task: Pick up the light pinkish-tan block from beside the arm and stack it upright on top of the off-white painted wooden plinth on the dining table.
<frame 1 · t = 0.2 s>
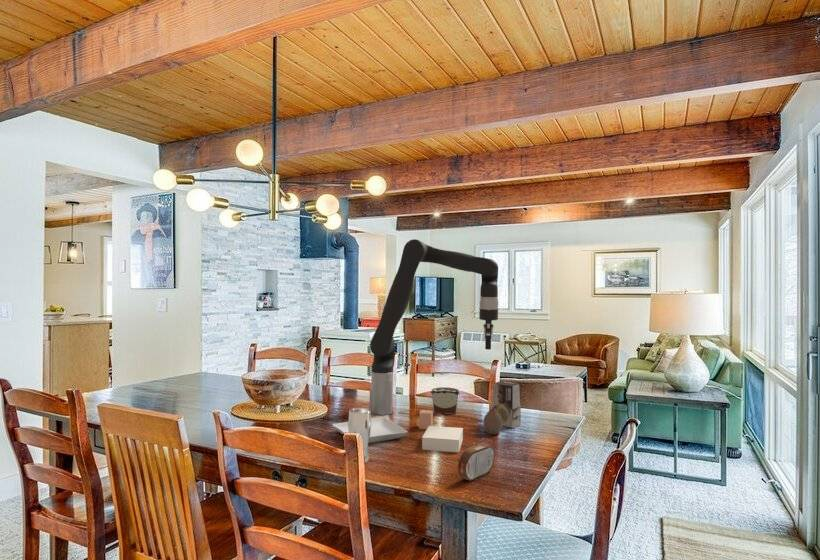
hand: (488, 348, 200), 29 cm above the table, fingers open, 8 cm apart
vase: (492, 433, 180), on the table
beer glass: (359, 460, 150), on the table
coffee box: (506, 425, 192), on the table
tin: (477, 477, 138), on the table
food container: (445, 412, 211), on the table
light pinkish-tan block: (425, 427, 186), on the table
plinth: (443, 444, 166), on the table
salad plate: (369, 437, 175), on the table
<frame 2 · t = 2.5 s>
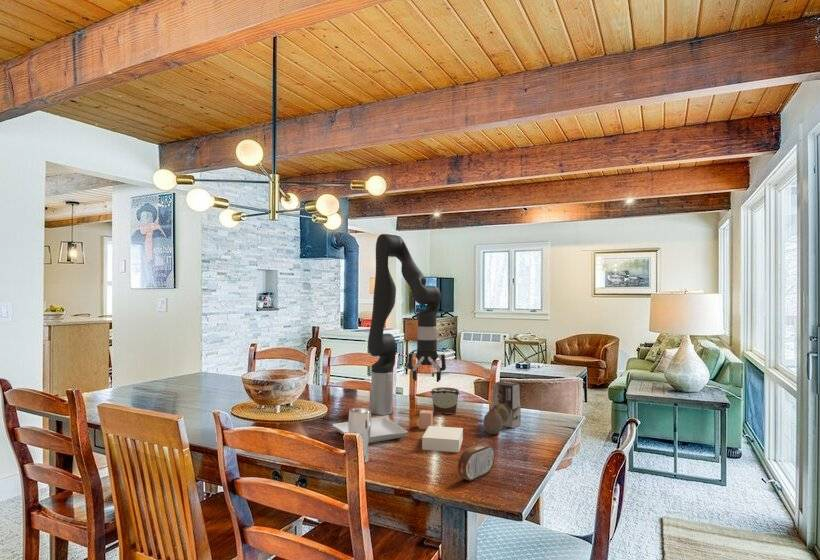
hand: (426, 381, 187), 17 cm above the table, fingers open, 8 cm apart
nothing on the table moved.
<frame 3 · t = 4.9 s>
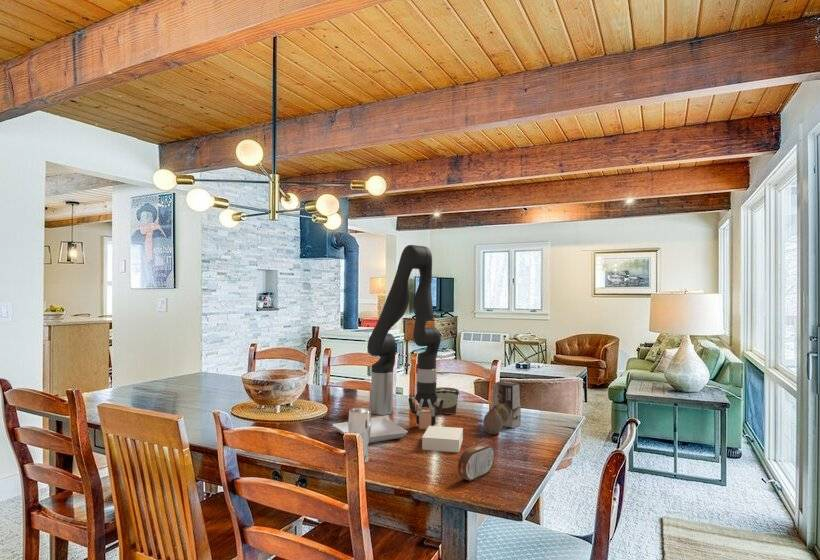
hand: (425, 425, 186), 1 cm above the table, fingers closed on light pinkish-tan block, 4 cm apart
light pinkish-tan block: (425, 427, 186), on the table, touching gripper
everything else where it was.
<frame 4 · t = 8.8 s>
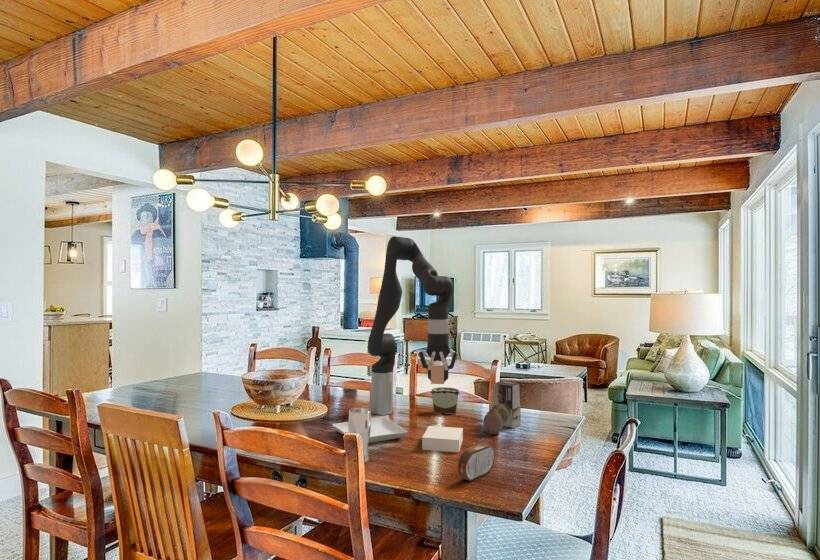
hand: (438, 380, 174), 20 cm above the table, fingers closed on light pinkish-tan block, 4 cm apart
light pinkish-tan block: (438, 382, 174), point 19 cm above the table, touching gripper
everything else where it was.
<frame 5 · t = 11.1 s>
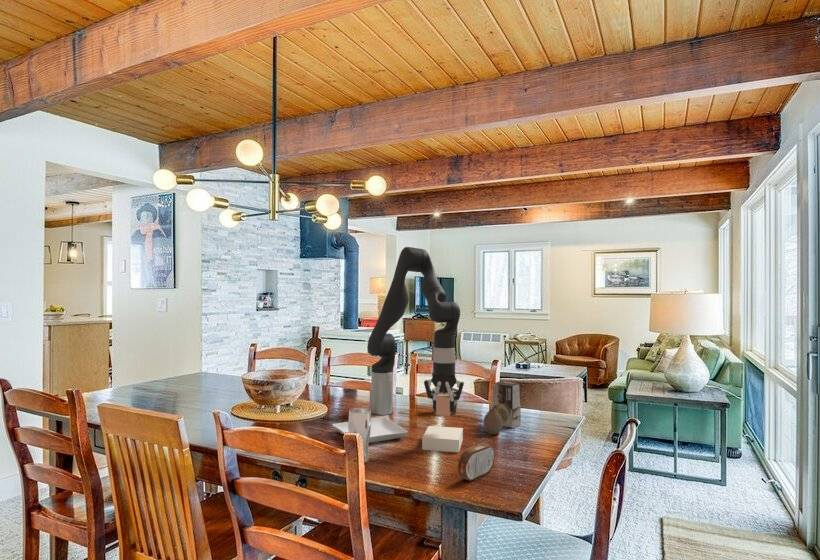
hand: (443, 411, 166), 11 cm above the table, fingers closed on light pinkish-tan block, 4 cm apart
light pinkish-tan block: (443, 413, 166), point 10 cm above the table, touching gripper
everything else where it was.
when the fingers open (6 cm above the table, at t = 12.9 s): light pinkish-tan block stays where it is, resting on plinth.
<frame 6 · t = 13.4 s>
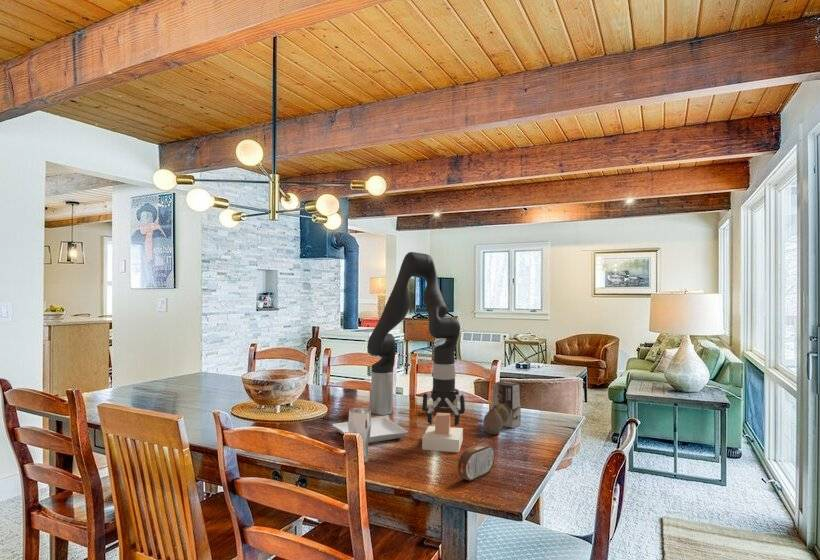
hand: (443, 424, 166), 7 cm above the table, fingers open, 8 cm apart
light pinkish-tan block: (442, 432, 166), point 4 cm above the table, touching plinth
everything else where it was.
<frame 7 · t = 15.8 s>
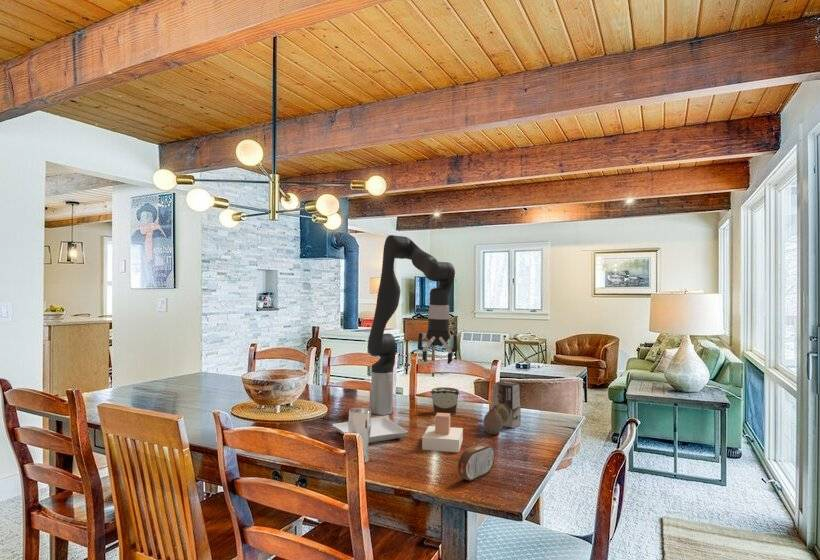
hand: (437, 362, 176), 26 cm above the table, fingers open, 8 cm apart
nothing on the table moved.
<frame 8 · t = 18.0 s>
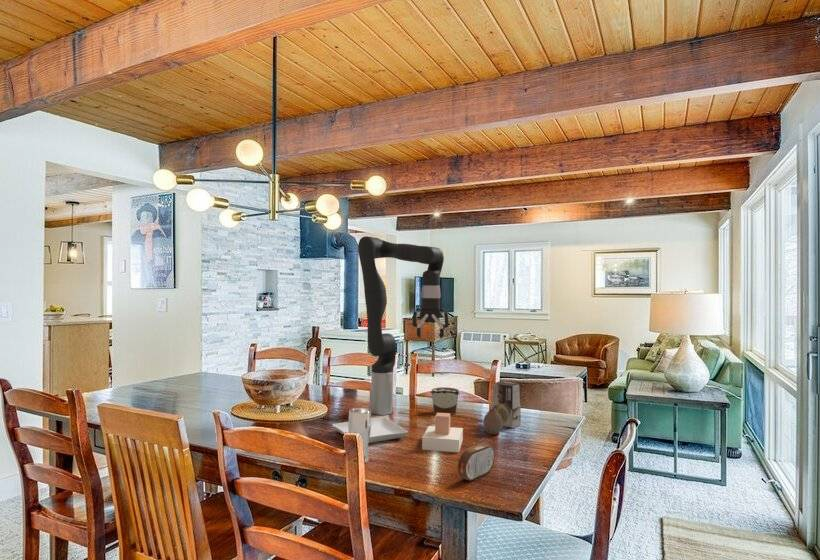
hand: (430, 338, 195), 33 cm above the table, fingers open, 8 cm apart
nothing on the table moved.
at the end: light pinkish-tan block inside the target area on the plinth (0.2 cm from its centre), point 4.0 cm above the plinth's base; light pinkish-tan block tilted 0°; the gripper is holding nothing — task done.
